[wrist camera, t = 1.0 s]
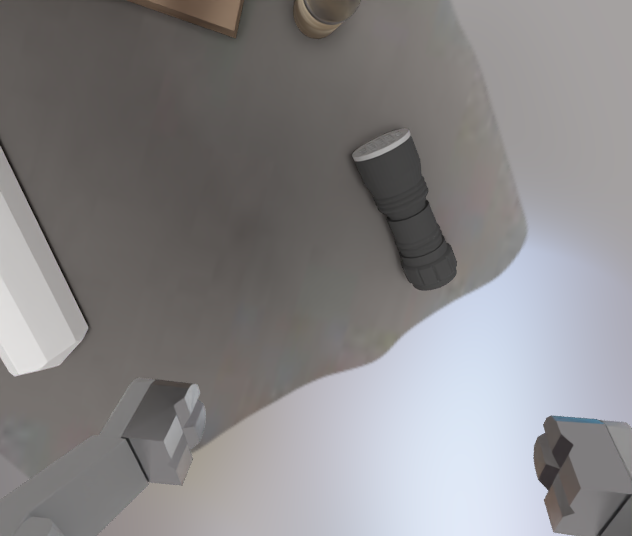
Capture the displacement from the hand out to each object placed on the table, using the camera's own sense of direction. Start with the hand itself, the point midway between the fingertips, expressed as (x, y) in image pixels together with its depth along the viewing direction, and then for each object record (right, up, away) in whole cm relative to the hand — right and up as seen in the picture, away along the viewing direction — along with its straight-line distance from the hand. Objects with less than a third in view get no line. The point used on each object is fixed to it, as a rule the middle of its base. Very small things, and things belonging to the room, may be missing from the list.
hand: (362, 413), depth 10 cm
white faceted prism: (-30, +6, +30) cm, 42 cm away
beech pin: (-1, +25, +26) cm, 36 cm away
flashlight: (+7, +10, +34) cm, 36 cm away
